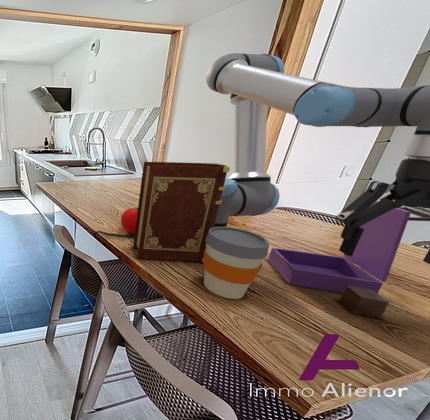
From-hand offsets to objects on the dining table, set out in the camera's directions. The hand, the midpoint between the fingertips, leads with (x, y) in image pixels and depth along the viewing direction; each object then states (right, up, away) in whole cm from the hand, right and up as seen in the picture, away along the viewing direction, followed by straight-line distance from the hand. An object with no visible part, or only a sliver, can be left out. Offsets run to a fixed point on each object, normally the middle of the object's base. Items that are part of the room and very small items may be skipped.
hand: (386, 258), depth 53 cm
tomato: (-40, +2, +45) cm, 60 cm away
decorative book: (-34, -4, +28) cm, 44 cm away
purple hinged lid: (+9, +4, +10) cm, 14 cm away
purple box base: (+2, -9, +17) cm, 19 cm away
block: (0, -13, +4) cm, 14 cm away
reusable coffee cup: (-27, -10, +12) cm, 32 cm away
